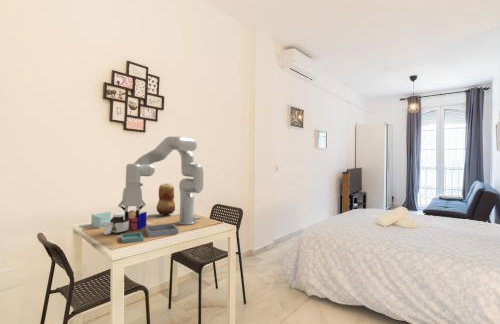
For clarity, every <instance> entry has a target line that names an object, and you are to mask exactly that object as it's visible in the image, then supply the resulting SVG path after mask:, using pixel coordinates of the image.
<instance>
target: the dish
mask: <svg viewBox="0 0 500 324" xmlns="http://www.w3.org/2000/svg"><path fill="white" fill-rule="evenodd" d="M120 240H121V243H122V244H127V243H137V242H143V241H144V236H143V234H142V233H141V232H140V231H138V232H128V233H123V234H120Z"/></svg>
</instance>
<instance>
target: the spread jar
mask: <svg viewBox="0 0 500 324" xmlns="http://www.w3.org/2000/svg"><path fill="white" fill-rule="evenodd" d="M112 216H113V217H111V218H110V223H107V224H106V225H105V226H103V233H104V235H106V236H107V235H110V234H111V233H112V235H113V234H114V235H121V234H122V233H123V234H126V232H127V231H129V229H128V228H129V220H128V219H126V217H125V211H124V212H122V211H121V212H119V211H118V212H115V213H113V215H112Z"/></svg>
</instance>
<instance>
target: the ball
mask: <svg viewBox="0 0 500 324" xmlns="http://www.w3.org/2000/svg"><path fill="white" fill-rule="evenodd" d="M135 211H136V210H129V211H128V217H129V218H130V219H133V218H135V217H136V212H135Z"/></svg>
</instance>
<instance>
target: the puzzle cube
mask: <svg viewBox="0 0 500 324" xmlns="http://www.w3.org/2000/svg"><path fill="white" fill-rule="evenodd" d="M134 211H135V212H136V210H134ZM128 220H129V228H128V230H129V229H131V231H138V230H141V228H142V229H143V228H144V229H145V226H147V211H141V210H140V211H139V216H138V218H136V217H135V218H133V219H130V218H129V217H128Z"/></svg>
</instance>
